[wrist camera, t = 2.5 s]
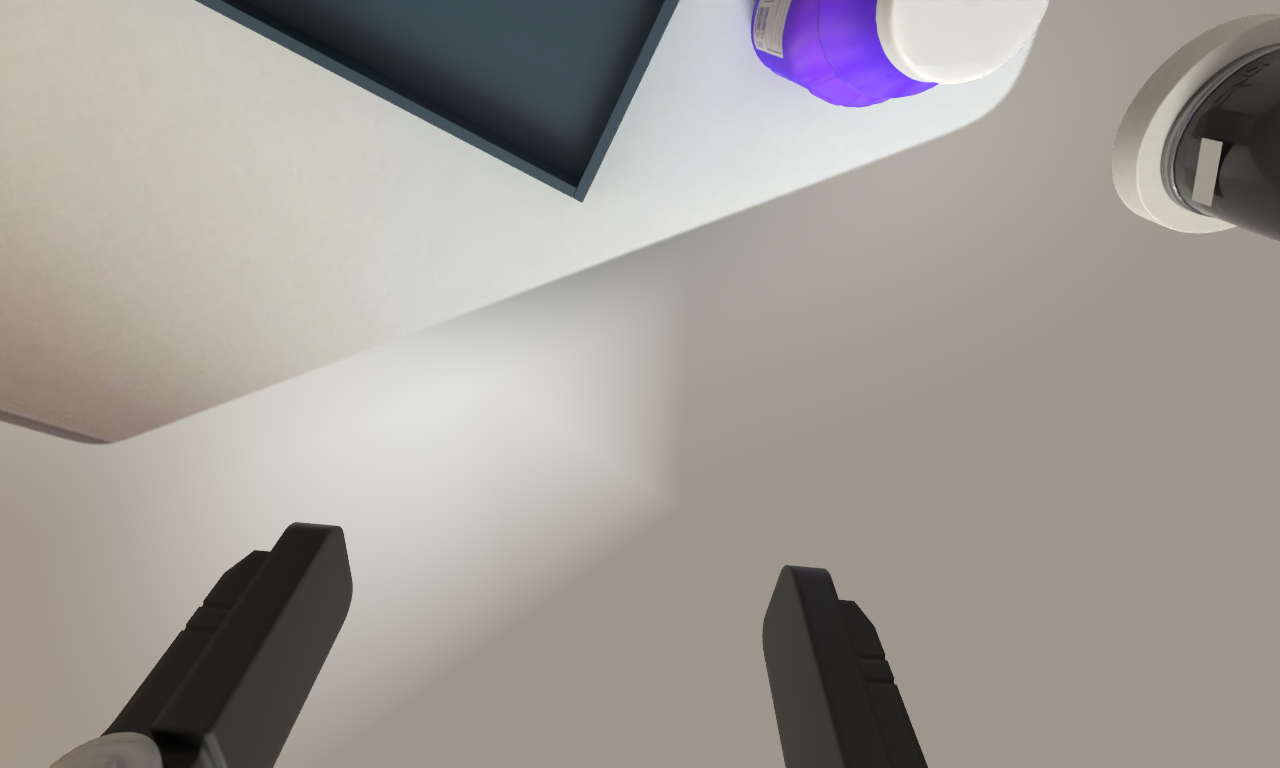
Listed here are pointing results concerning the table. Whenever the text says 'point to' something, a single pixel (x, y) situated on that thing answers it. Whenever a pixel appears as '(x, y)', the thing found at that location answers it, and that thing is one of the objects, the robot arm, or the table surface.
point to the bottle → (888, 43)
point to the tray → (485, 67)
